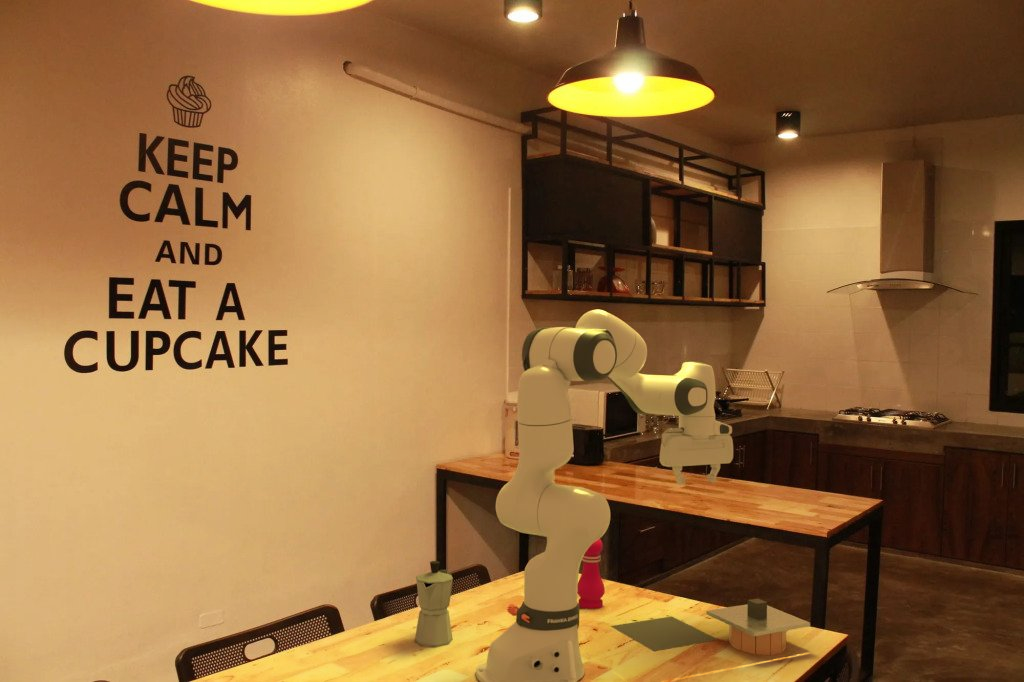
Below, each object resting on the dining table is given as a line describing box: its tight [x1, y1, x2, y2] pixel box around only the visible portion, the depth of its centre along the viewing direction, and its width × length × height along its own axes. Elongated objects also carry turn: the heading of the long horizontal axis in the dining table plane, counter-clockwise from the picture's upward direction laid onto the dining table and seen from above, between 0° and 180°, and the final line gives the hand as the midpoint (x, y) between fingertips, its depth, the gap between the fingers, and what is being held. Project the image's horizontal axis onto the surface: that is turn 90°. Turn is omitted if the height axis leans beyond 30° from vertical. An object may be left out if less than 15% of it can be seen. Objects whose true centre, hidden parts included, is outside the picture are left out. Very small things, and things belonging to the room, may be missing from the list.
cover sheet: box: [705, 598, 811, 636], centre depth 190 cm, size 16×16×4 cm
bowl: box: [728, 625, 787, 656], centre depth 190 cm, size 12×12×6 cm
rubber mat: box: [610, 615, 719, 652], centre depth 197 cm, size 18×18×1 cm
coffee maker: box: [414, 560, 454, 648], centre depth 193 cm, size 15×9×18 cm, turn 168°
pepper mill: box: [577, 538, 606, 610], centre depth 217 cm, size 7×7×20 cm
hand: (696, 483), depth 207 cm, fingers open, 8 cm apart
